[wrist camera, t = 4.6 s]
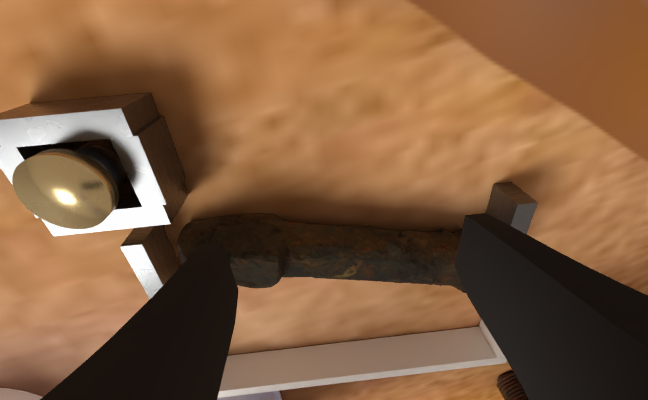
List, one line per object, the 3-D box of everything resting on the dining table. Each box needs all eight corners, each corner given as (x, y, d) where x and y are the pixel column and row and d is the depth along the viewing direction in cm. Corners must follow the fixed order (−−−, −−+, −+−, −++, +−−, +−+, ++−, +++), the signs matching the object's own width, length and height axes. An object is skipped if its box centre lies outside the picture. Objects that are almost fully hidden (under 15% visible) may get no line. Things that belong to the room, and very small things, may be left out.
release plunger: (156, 184, 17) (124, 224, 14) (92, 191, 17) (43, 233, 14) (130, 122, 15) (85, 152, 12) (57, 129, 15) (-9, 161, 12)
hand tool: (468, 219, 21) (507, 266, 17) (445, 261, 23) (476, 311, 19) (188, 182, 18) (157, 228, 14) (189, 234, 20) (163, 287, 16)
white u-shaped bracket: (487, 331, 28) (505, 363, 26) (189, 366, 28) (178, 402, 25) (505, 279, 25) (529, 310, 22) (161, 318, 24) (145, 355, 21)
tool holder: (491, 251, 23) (515, 281, 20) (135, 290, 22) (114, 326, 19) (549, 55, 16) (598, 64, 13) (24, 104, 15) (-32, 122, 12)
